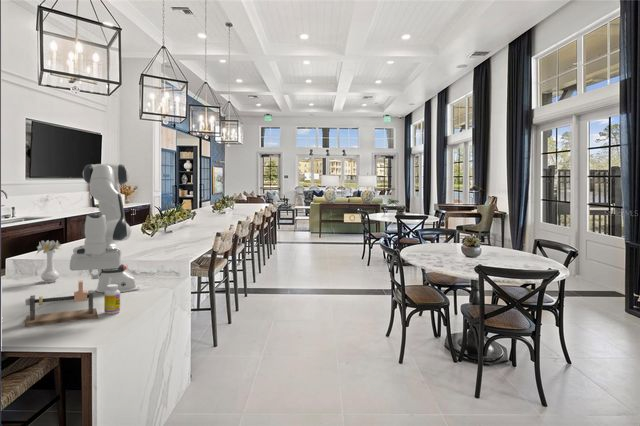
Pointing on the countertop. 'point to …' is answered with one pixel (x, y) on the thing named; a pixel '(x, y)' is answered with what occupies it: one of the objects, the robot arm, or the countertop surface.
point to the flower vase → (49, 260)
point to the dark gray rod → (50, 299)
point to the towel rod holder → (60, 314)
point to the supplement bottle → (112, 299)
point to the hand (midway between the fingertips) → (94, 279)
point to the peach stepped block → (80, 293)
